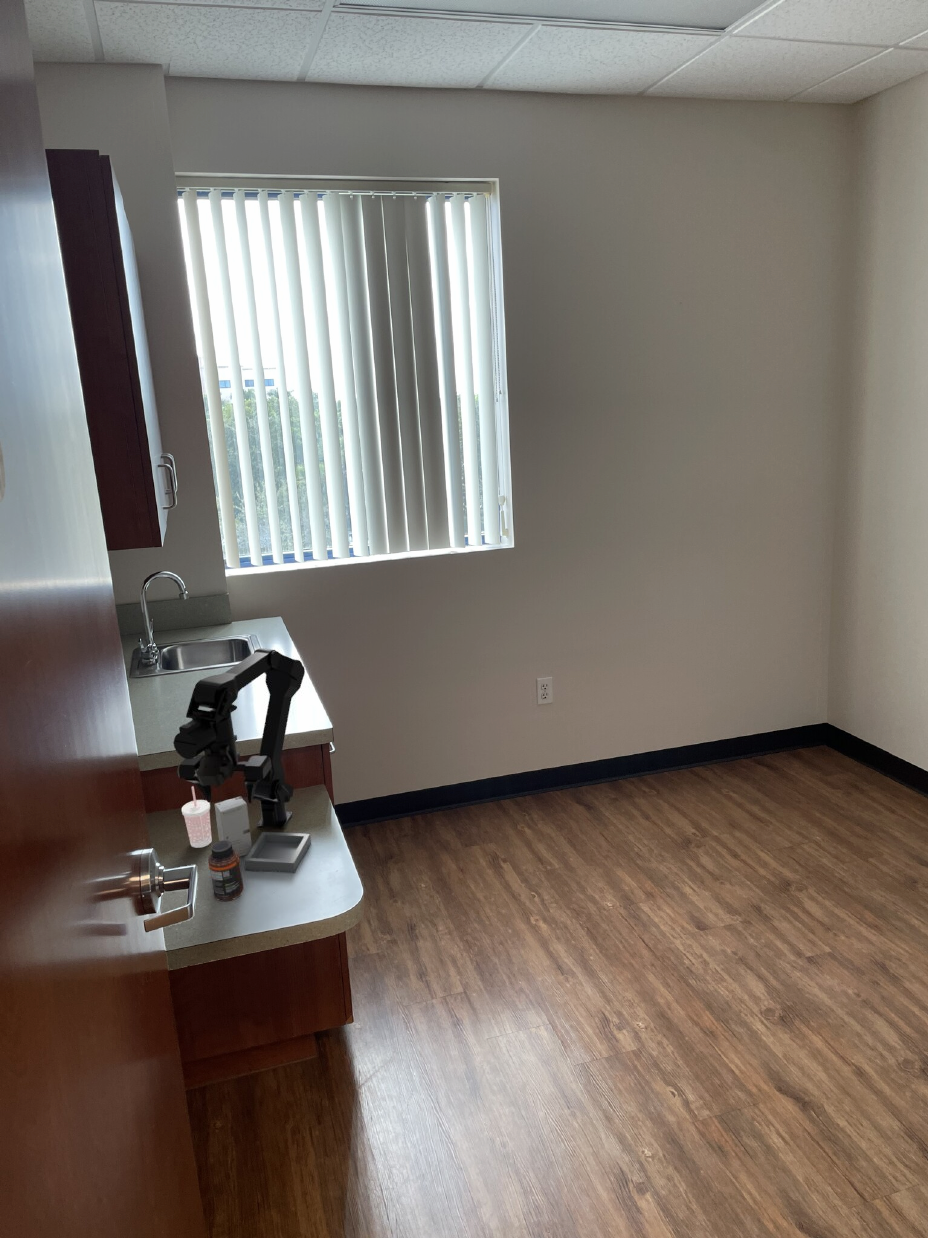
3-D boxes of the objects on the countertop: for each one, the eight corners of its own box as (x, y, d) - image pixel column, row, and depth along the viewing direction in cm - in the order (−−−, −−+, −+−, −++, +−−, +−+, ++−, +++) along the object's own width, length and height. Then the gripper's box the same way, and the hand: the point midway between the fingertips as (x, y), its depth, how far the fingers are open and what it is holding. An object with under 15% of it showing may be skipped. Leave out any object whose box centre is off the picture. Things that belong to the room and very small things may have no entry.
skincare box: (226, 862, 184) (219, 812, 180) (219, 852, 187) (212, 804, 183) (254, 852, 187) (247, 803, 183) (246, 843, 190) (240, 795, 187)
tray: (263, 841, 191) (262, 831, 190) (311, 843, 189) (310, 834, 188) (245, 870, 180) (243, 860, 180) (295, 873, 179) (293, 863, 178)
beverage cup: (210, 831, 196) (202, 777, 191) (218, 843, 191) (210, 788, 186) (183, 840, 192) (174, 785, 188) (191, 853, 188) (182, 796, 183)
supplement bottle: (232, 880, 177) (225, 833, 174) (249, 891, 174) (243, 843, 170) (207, 895, 173) (200, 847, 169) (225, 906, 169) (218, 857, 166)
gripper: (160, 754, 171) (172, 821, 176) (249, 756, 169) (258, 824, 174) (183, 729, 182) (194, 793, 187) (267, 730, 179) (276, 795, 184)
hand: (230, 802), depth 183 cm, fingers open, 9 cm apart
